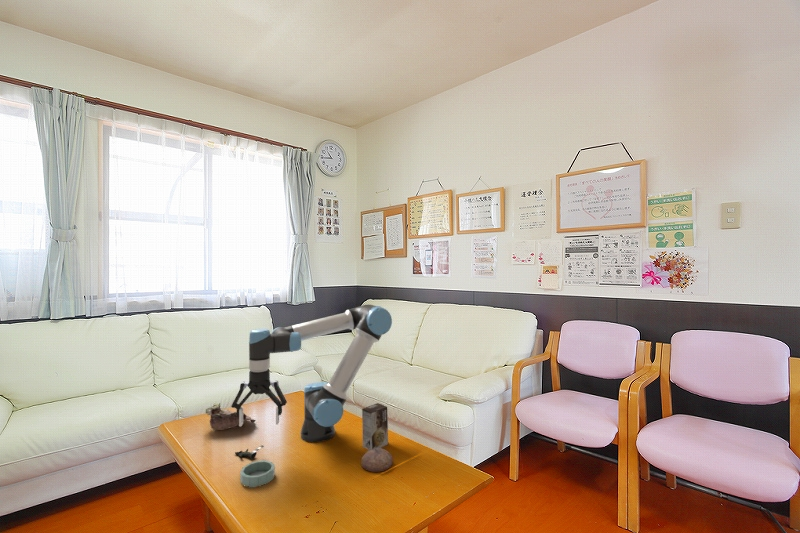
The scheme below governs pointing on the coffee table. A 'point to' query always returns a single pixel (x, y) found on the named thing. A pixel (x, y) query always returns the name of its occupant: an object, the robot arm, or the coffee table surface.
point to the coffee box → (375, 426)
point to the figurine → (248, 453)
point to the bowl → (257, 473)
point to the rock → (224, 418)
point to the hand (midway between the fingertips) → (259, 424)
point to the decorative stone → (377, 460)
